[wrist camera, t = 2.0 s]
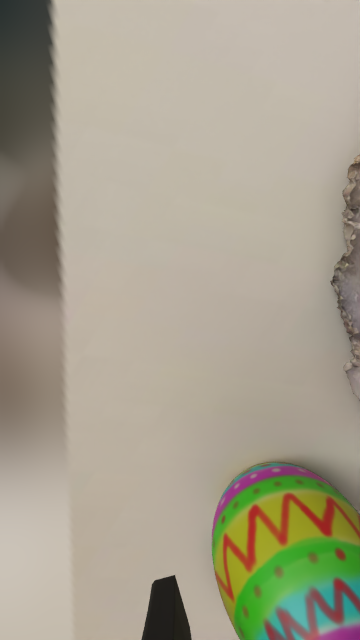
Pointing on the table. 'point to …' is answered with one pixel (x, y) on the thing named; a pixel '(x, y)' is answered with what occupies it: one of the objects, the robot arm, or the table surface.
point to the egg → (287, 556)
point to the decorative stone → (351, 273)
